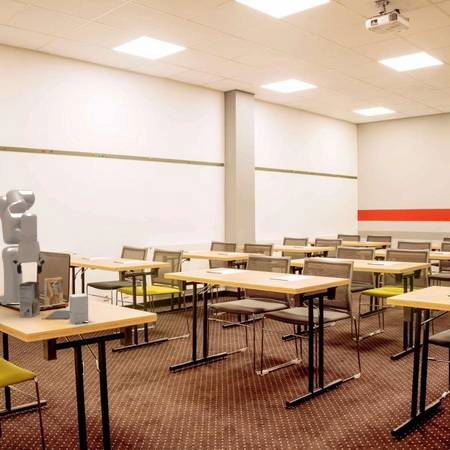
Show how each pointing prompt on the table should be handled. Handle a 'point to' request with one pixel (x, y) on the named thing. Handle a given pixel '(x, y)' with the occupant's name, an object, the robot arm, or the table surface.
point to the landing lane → (58, 315)
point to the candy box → (53, 291)
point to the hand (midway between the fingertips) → (29, 273)
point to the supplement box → (78, 308)
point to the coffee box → (29, 299)
